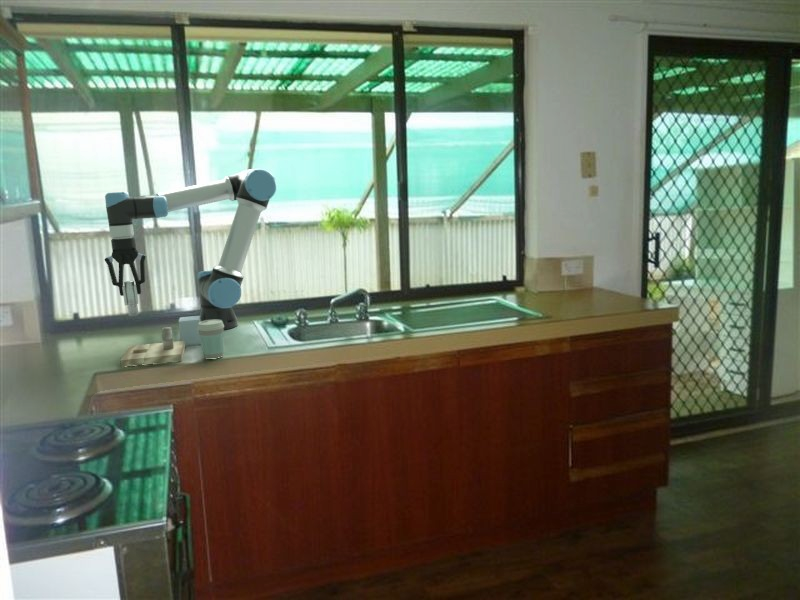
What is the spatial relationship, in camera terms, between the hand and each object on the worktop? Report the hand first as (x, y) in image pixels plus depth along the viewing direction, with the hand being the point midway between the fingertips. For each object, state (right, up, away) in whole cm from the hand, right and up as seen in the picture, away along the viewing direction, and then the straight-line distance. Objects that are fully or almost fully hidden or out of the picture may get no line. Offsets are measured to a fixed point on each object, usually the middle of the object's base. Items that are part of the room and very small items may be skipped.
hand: (132, 303), depth 213 cm
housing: (+19, -14, +6) cm, 25 cm away
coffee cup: (+33, -18, -14) cm, 40 cm away
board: (+13, -18, -11) cm, 24 cm away
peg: (0, -4, +1) cm, 4 cm away
